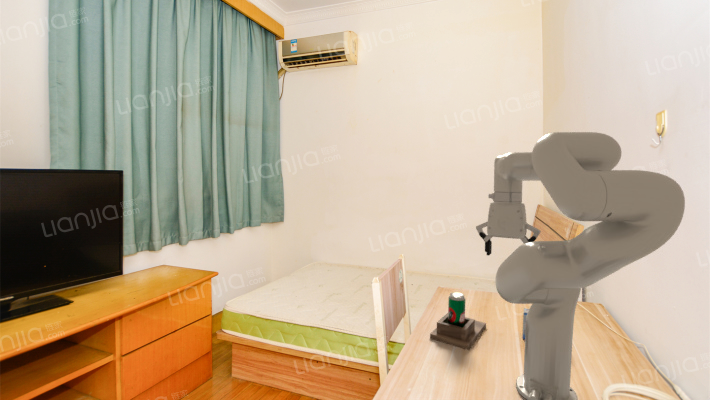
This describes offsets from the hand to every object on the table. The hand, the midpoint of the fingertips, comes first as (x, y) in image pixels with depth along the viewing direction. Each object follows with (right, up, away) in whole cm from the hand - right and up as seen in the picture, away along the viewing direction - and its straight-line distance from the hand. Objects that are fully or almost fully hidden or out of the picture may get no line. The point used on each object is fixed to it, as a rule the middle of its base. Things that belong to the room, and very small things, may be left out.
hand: (506, 256), depth 100 cm
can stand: (-11, -26, +11) cm, 30 cm away
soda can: (-12, -25, +8) cm, 29 cm away
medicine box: (+12, -27, +7) cm, 30 cm away
